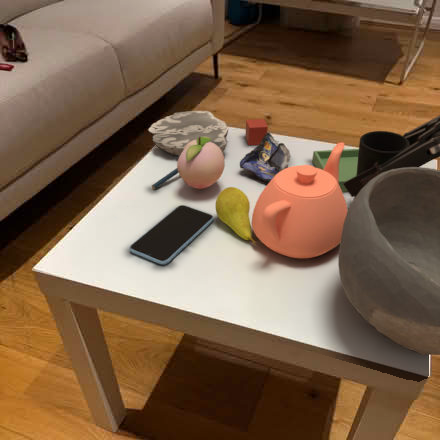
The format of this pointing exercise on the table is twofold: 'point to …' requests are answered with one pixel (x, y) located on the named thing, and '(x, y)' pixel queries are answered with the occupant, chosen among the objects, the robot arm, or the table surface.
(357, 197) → the bowl
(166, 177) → the pencil
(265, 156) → the snack package
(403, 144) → the cup
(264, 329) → the table surface
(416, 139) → the robot arm
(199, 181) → the decorative fruit
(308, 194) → the teapot
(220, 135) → the brain slice
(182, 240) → the smartphone
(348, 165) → the green tray
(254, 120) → the red block
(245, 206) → the fruit
